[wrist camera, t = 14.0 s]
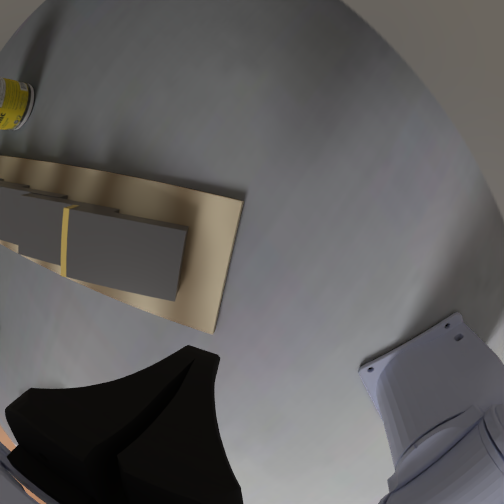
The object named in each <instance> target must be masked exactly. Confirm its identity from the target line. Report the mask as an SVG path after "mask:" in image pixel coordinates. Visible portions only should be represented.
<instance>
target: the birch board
mask: <svg viewBox="0 0 504 504" xmlns="http://www.w3.org/2000/svg"><path fill="white" fill-rule="evenodd" d="M0 178H2V179H4V181H6V182H12V183H18V184H25V185H30V187H29V188H30V189H36V190H41V191H47V192H53V193H58V194H64V195H68V198H67V200H73V201H78V202H84V203H89V204H95V205H100V206H106V207H111V208H116V209H120V210H119V213H121V214H126V215H131V216H137V217H142V218H147V219H153V220H158V221H163V222H169V223H174V224H179V225H184V226H189V227H188V233H187V239H186V244H185V250H184V256H183V262H182V268H181V275H180V281H179V288H178V293H177V297H176V300H175V302H174V301H169V300H164V299H159V298H154V297H149V296H145V295H140V294H135V293H131V292H126V291H122V290H117V289H113V288H109V287H105V286H100V285H96V284H92V283H88V282H84V281H80V280H76V279H72V278H69V277H66V278H68V279H71V280H73V281H75V282H77V283H79V284H81V285H84V286H86V287H88V288H90V289H93V290H95V291H97V292H100V293H102V294H104V295H107V296H109V297H111V298H114V299H116V300H119V301H121V302H124V303H126V304H129V305H131V306H134V307H136V308H139V309H141V310H144V311H147V312H149V313H152V314H155V315H157V316H160V317H163V318H165V319H168V320H171V321H174V322H177V323H180V324H182V325H185V326H188V327H191V328H194V329H197V330H200V331H203V332H206V333H209V334H212V335H213V333H214V332H215V328H216V323H217V318H218V314H219V309H220V305H221V300H222V296H223V291H224V287H225V282H226V278H227V273H228V269H229V264H230V260H231V255H232V251H233V247H234V242H235V238H236V234H237V229H238V225H239V221H240V216H241V212H242V208H243V204H244V201H241V200H237V199H232V198H228V197H224V196H220V195H216V194H211V193H207V192H203V191H198V190H194V189H189V188H185V187H180V186H176V185H171V184H166V183H162V182H157V181H152V180H147V179H142V178H137V177H132V176H127V175H122V174H116V173H111V172H106V171H100V170H95V169H89V168H83V167H77V166H71V165H65V164H59V163H52V162H46V161H39V160H32V159H25V158H17V157H10V156H2V155H0ZM0 244H2V245H4V246H5V247H7V248H9V249H11V250H13V251H15V252H16V253H18V245H16V244H12V243H9V242H6V241H2V240H0ZM22 256H24V255H22ZM24 257H26V258H28V259H30V260H32V261H34V262H35V263H37V264H39V265H41V266H43V267H45V268H47V269H50V270H52V271H54V272H56V273H58V274H60V275H61V266H59V265H56V264H52V263H48V262H45V261H41V260H38V259H34V258H31V257H27V256H24Z"/></svg>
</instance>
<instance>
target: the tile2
mask: <svg viewBox="0 0 504 504" xmlns="http://www.w3.org/2000/svg"><path fill="white" fill-rule="evenodd" d="M71 205H78V206H82V207H88V208H93V209H99V210H104V211H110V212H115V213H119V210H120V209H116V208H111V207H106V206H100V205H95V204H89V203H84V202H78V201H73V200H67V199H62V198H56V197H50V196H45V195H39V194H33V193H29V194H24V195H20V207H19V228H18V254H20V255H24V256H27V257H31V258H34V259H38V260H41V261H45V262H48V263H52V264H56V265H59V266H61V237H62V221H63V209H64V208H65V207H68V206H71Z"/></svg>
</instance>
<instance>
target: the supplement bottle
mask: <svg viewBox="0 0 504 504" xmlns="http://www.w3.org/2000/svg"><path fill="white" fill-rule="evenodd" d="M33 102H34V90H33V87H32V86H31V85H30V84H28V83H24V82H20V81H15V80H11V79H6V78H1V77H0V129H3V130H17V129H19V128H20V127H22V126H23V125H24V123H25V122H26V121H27V119H28V117H29V115H30V113H31V110H32V107H33Z"/></svg>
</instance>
